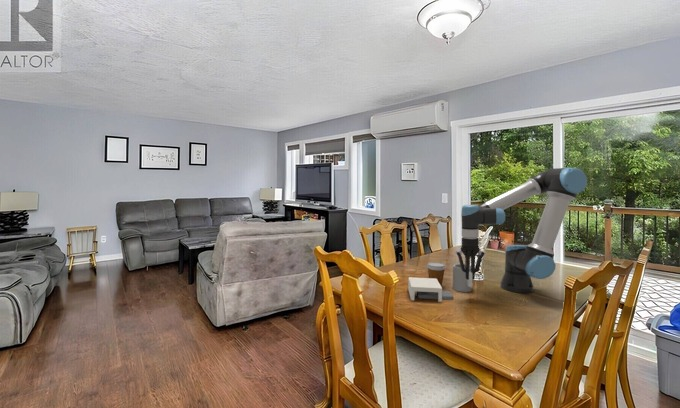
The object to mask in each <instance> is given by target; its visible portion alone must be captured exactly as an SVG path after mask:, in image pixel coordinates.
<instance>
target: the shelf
mask: <svg viewBox="0 0 680 408" xmlns="http://www.w3.org/2000/svg"><path fill="white" fill-rule="evenodd" d="M407 283H408V284H407V286H408V287H407V289H408V295H409V298H410V301H412V302H413V301H415V298H414V295H415V291H420V292H438V299H437V302H438V303H442V302H443V299H442V291H443V287H441V285H440V284H439V282H438V280H437V279H436V278H429V277H411V276H409V277H408V281H407Z"/></svg>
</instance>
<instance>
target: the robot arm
mask: <svg viewBox="0 0 680 408" xmlns="http://www.w3.org/2000/svg"><path fill="white" fill-rule="evenodd" d="M587 185H588V178H587V175H586V174H585V172H584V171H583V170H582V169H579V168H576V167H563V168H562V167H559V168H549V169H546V170H544V171H542V172H540V173H537V174H535V175H533V176H531V177H529V178H528V179H527V180H526V182H524V183H522V184H519V185H518V186H515V187H513V188H511V189H509V190H507V191H505V192H503V193H501V194H499V195H498V196H496V197H494V198H491V199H489V200H487V201H485V202H483V203H480V204H478V205H477V204H464V205H462V206H461V247H460V249H459V250H457V251H455V254H456V255H457V257H458V261H459V264H460V266H461V270H462V271H463V272H465V273H466V279H468V286H469V287H471V288H473V280H475V277H476V276H475V275H476V273H478V272H479V271H480V267H481V264H482V261H483V257H484V256H485V252H484V251H482V250H480V247H479V246H480V245H479V242H480V241H479V237H480V236H479V235H480V234H479V232H480V231H479V227H480V226H482V225H486V226H487V225H502V224H504V223H505V221H506V212H505V211H504V210H506V209H508V208H510V207H512V206H515V205H517V204H518V203H521V202H522V201H525V200H527V199H529V198H531V197H533V196H540V195H543V194H545V193H546V194H547V196H548V198H547V201H546V203H545V206H544V209H543V212H542V214H541V217H540V220H539V221H538V225H537V228H536V230H535V233H534V236H533V239H532V241H531V242H530V243H529V244H508V245H506V247H505V261H504V262H505V263H504V274H503V275H502V278H501V281H500V287H501V289H504V290H506V291H508V292H513V293H518V294H519V293H520V294H529V293H533V292H534V283H533V280H532V278H535V279H539V280H543V279H544V280H545V279H547V278H549V277H551V276H552V275H553V274H554V273H555V271H556V263H555V260H554V259H553V258H554V256H555V253H554V251H553V247H554V244H555V242H556V240H557V238H558V235H559V231H560V229H561V226H562V224H563V221H564V218H565V215H566V213H567V210H568V207H569V205H570V202H572V201H574V200H575V199H576V198H577V196H578V194H579V193H582V192H583V191H585V189H586V188H587ZM477 254H478V256H477ZM462 255H464V260H465V261H463V257H462ZM476 256H477V259H476ZM464 264H465V267H464ZM469 265H470V266H471V272H469ZM531 277H532V278H531Z"/></svg>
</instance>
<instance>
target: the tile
mask: <svg viewBox="0 0 680 408" xmlns="http://www.w3.org/2000/svg"><path fill="white" fill-rule="evenodd" d="M417 298H418V299H421V300H422V299H427V300H429V299H430V300H438V292H420V291H417ZM442 300H446V301H447V300H452V301H453V300H454V296H453V295H452V293H451V291H450V290H442Z"/></svg>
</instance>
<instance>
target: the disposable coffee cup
mask: <svg viewBox="0 0 680 408" xmlns="http://www.w3.org/2000/svg"><path fill="white" fill-rule="evenodd" d="M426 267H427V273H428V274H427V275H428V278H436V279H437V280H438V282H439V284H440V285H441V287H442V286H443V282H444V275H445V270H446V268H447V267H446V265H445V263H442V262H435V261H434V262H433V261H431V262H428V263H427V265H426ZM442 288H443V287H442Z"/></svg>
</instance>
